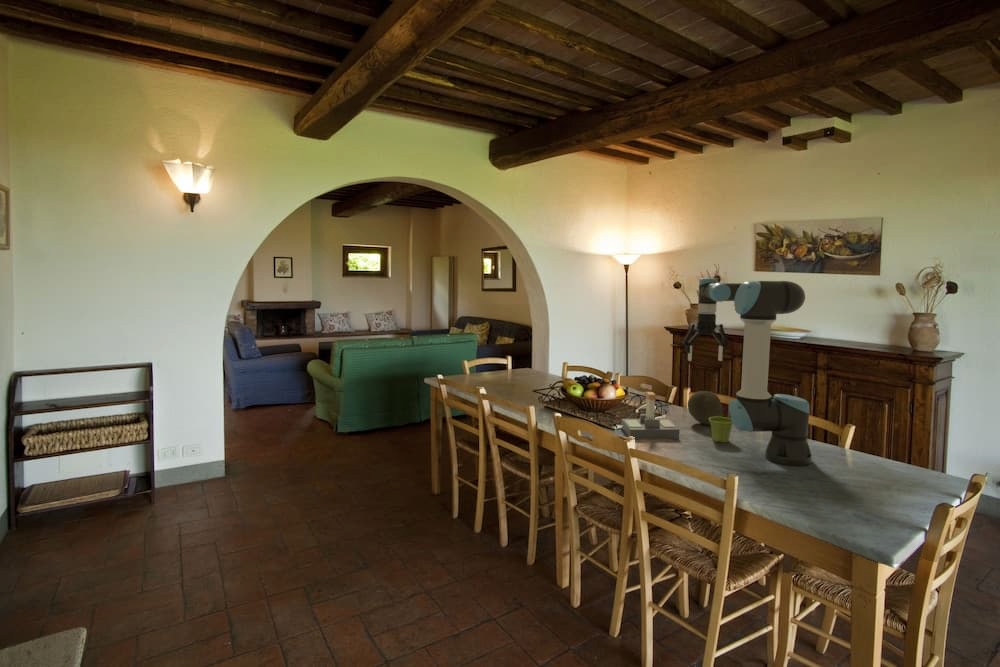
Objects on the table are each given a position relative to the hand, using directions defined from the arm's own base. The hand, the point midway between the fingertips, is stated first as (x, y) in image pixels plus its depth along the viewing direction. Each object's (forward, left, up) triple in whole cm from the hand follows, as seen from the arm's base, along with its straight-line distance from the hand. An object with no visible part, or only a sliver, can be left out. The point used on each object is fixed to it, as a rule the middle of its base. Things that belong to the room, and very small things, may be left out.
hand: (704, 360), depth 250 cm
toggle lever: (-17, +29, -24) cm, 41 cm away
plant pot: (-27, +3, -28) cm, 39 cm away
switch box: (-17, +29, -28) cm, 44 cm away
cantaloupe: (-4, +1, -28) cm, 29 cm away
